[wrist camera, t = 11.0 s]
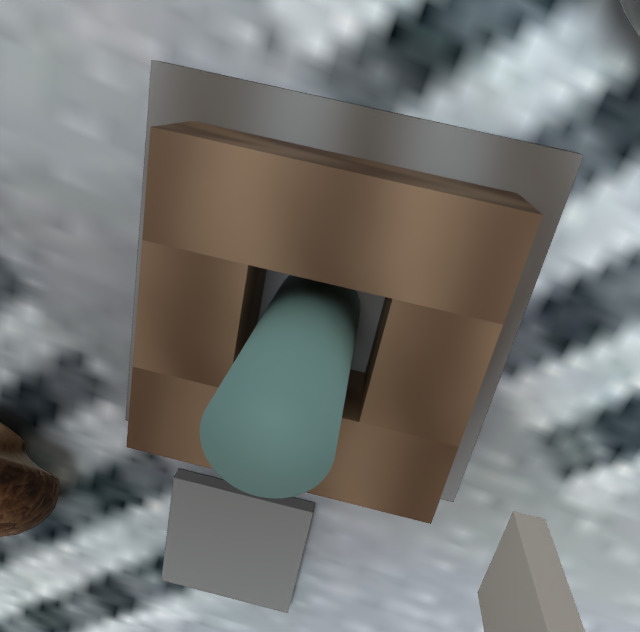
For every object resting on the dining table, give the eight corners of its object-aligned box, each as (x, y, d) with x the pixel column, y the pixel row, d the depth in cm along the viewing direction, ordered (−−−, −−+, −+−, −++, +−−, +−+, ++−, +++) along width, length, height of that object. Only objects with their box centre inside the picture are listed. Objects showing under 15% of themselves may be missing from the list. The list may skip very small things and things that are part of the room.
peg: (269, 334, 27) (192, 479, 17) (283, 257, 25) (208, 365, 15) (350, 354, 27) (320, 512, 17) (369, 277, 25) (349, 400, 15)
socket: (131, 412, 31) (82, 471, 26) (159, 60, 24) (98, 53, 19) (452, 492, 30) (462, 567, 25) (577, 153, 23) (625, 169, 18)
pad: (166, 569, 35) (161, 580, 34) (178, 468, 32) (173, 477, 31) (290, 602, 35) (287, 613, 34) (315, 503, 31) (313, 512, 31)
